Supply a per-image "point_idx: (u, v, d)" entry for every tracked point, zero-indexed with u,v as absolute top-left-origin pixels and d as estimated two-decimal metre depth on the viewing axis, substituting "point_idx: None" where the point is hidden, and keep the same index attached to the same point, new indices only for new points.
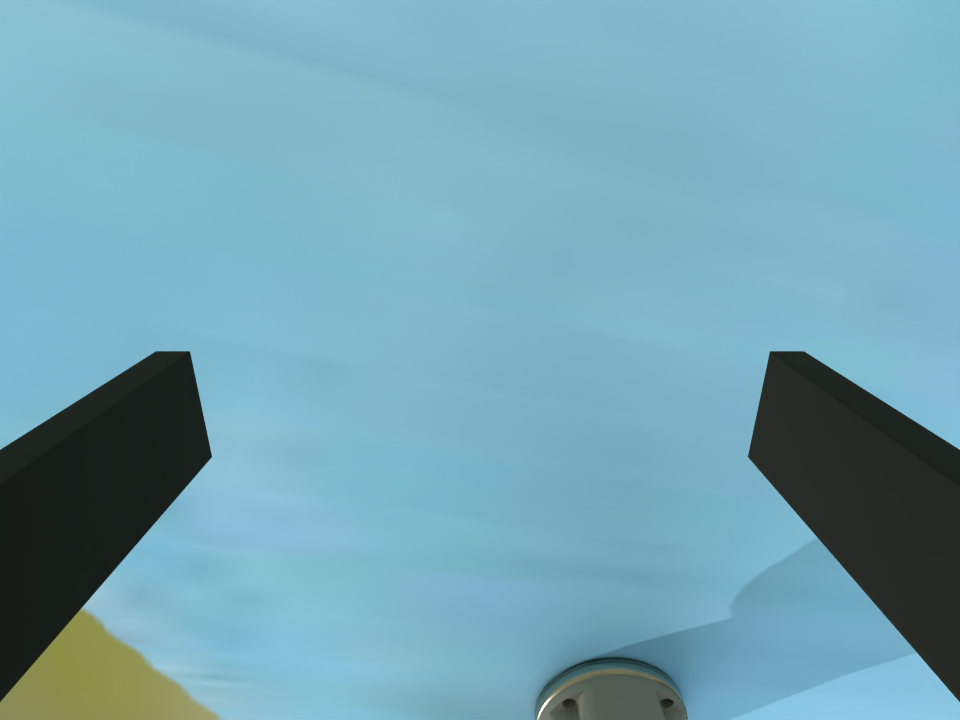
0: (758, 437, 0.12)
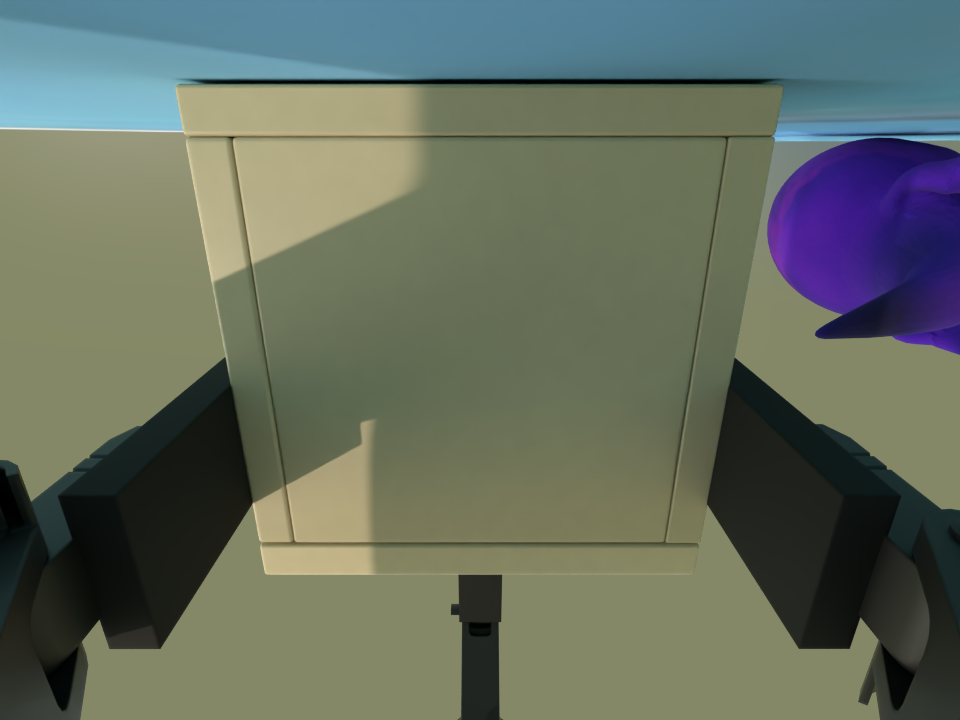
0: None
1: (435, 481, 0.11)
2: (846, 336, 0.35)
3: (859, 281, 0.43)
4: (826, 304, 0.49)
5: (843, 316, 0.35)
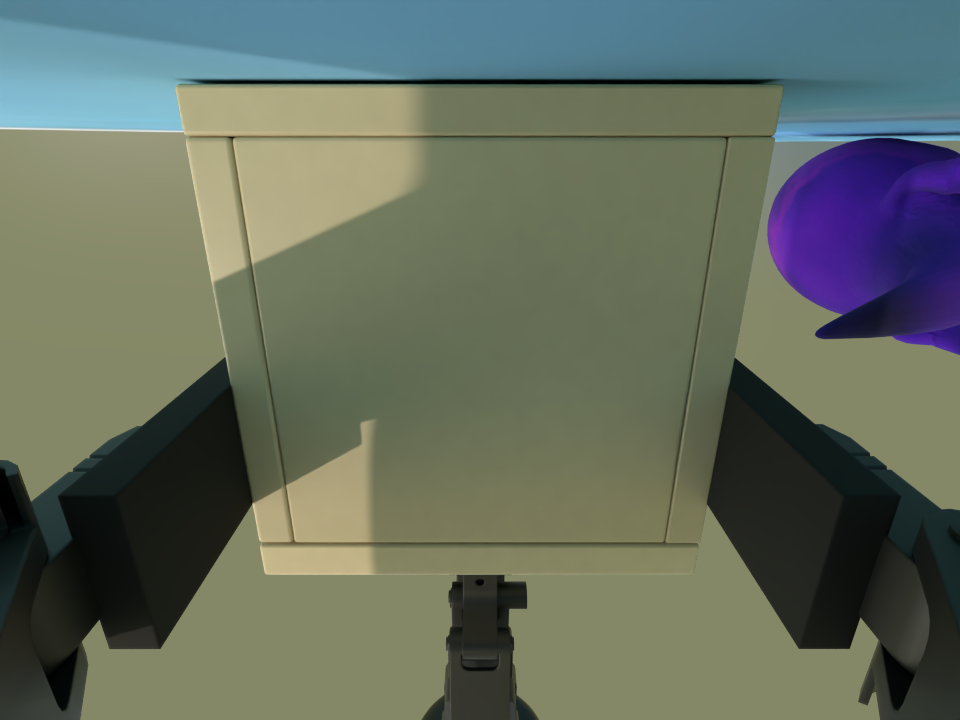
0: None
1: (435, 481, 0.11)
2: (846, 336, 0.35)
3: (859, 281, 0.43)
4: (826, 304, 0.49)
5: (843, 316, 0.35)
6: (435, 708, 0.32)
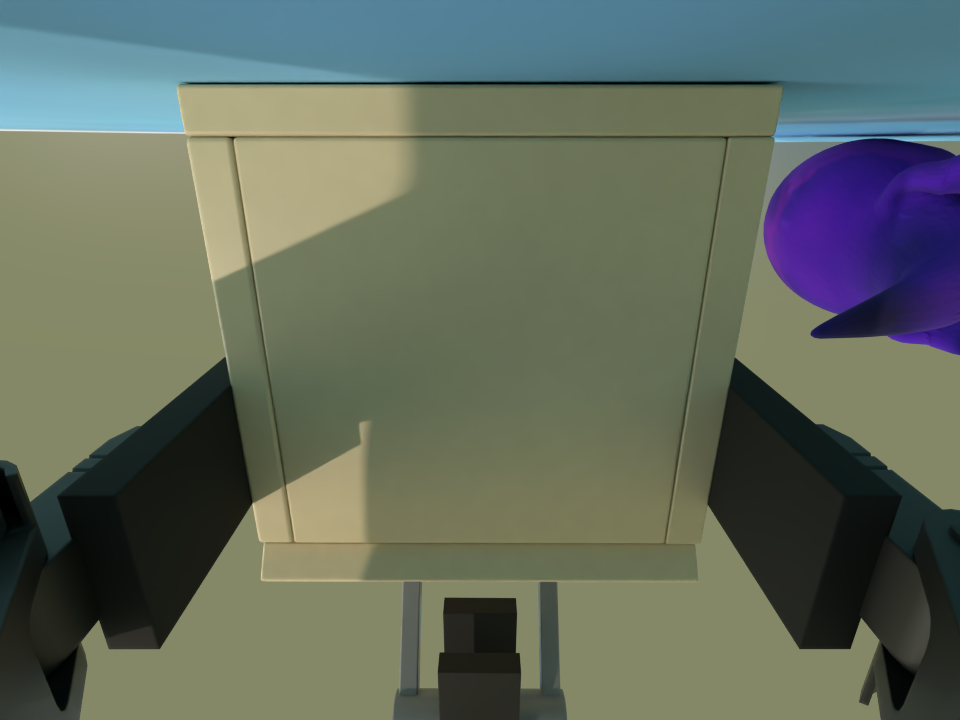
0: None
1: (435, 481, 0.11)
2: (841, 336, 0.36)
3: (855, 281, 0.43)
4: (822, 304, 0.49)
5: (838, 316, 0.35)
6: None
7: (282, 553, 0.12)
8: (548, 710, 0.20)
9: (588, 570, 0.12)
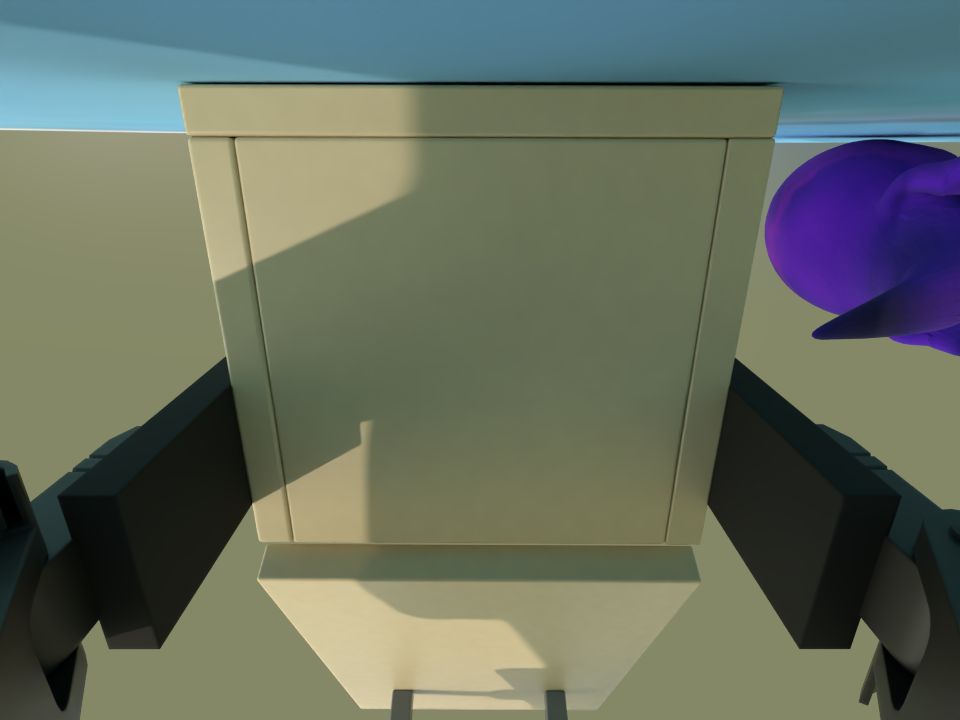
0: None
1: (435, 482, 0.11)
2: (843, 337, 0.35)
3: (856, 282, 0.43)
4: (823, 305, 0.49)
5: (840, 317, 0.35)
6: None
7: (283, 553, 0.12)
8: None
9: (588, 570, 0.12)
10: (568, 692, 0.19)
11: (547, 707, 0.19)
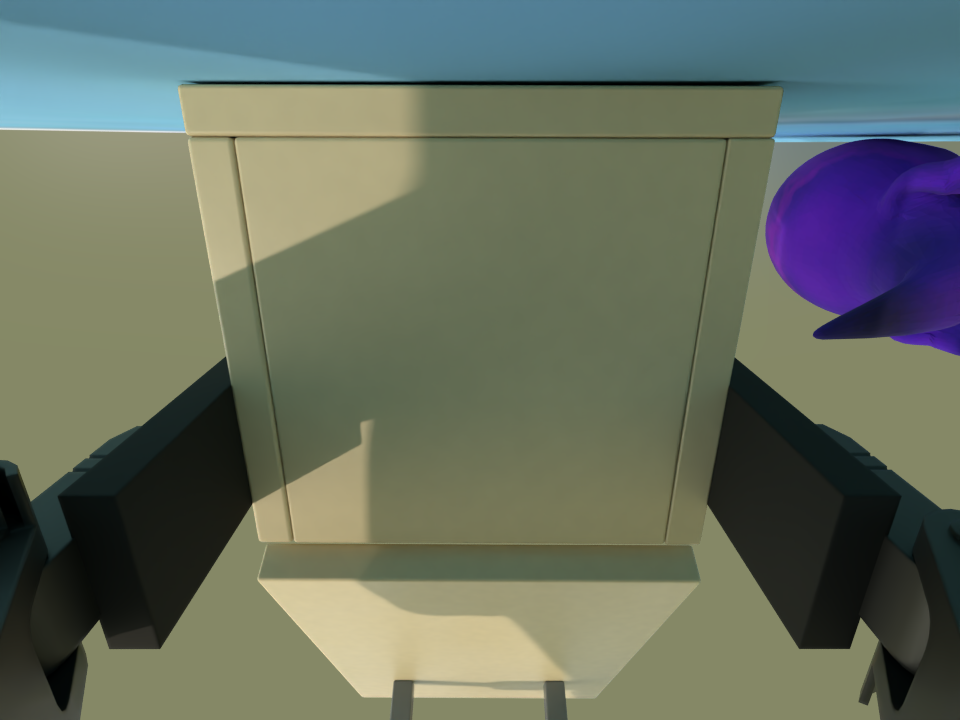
0: None
1: (435, 481, 0.11)
2: (844, 337, 0.35)
3: (857, 282, 0.43)
4: (824, 305, 0.49)
5: (841, 317, 0.35)
6: None
7: (283, 553, 0.12)
8: None
9: (588, 570, 0.12)
10: (567, 682, 0.20)
11: (546, 697, 0.19)
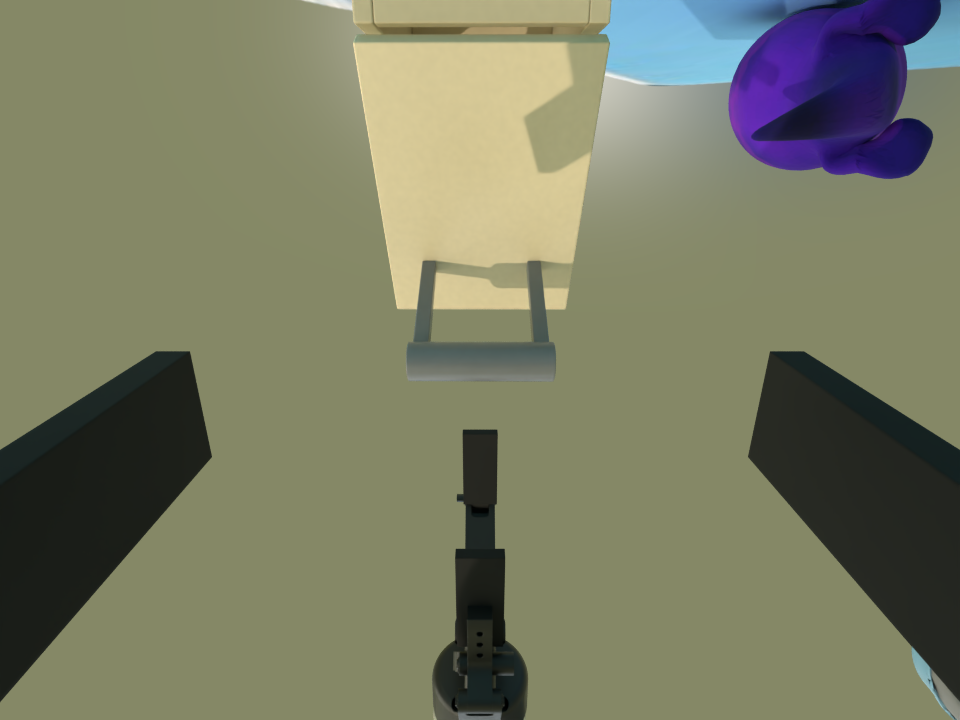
0: (758, 437, 0.12)
1: None
2: (775, 137, 0.44)
3: None
4: (775, 157, 0.57)
5: (773, 120, 0.44)
6: (447, 648, 0.44)
7: (366, 35, 0.20)
8: (539, 343, 0.24)
9: (545, 39, 0.20)
10: (543, 266, 0.28)
11: (528, 267, 0.28)
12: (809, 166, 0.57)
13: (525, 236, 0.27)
